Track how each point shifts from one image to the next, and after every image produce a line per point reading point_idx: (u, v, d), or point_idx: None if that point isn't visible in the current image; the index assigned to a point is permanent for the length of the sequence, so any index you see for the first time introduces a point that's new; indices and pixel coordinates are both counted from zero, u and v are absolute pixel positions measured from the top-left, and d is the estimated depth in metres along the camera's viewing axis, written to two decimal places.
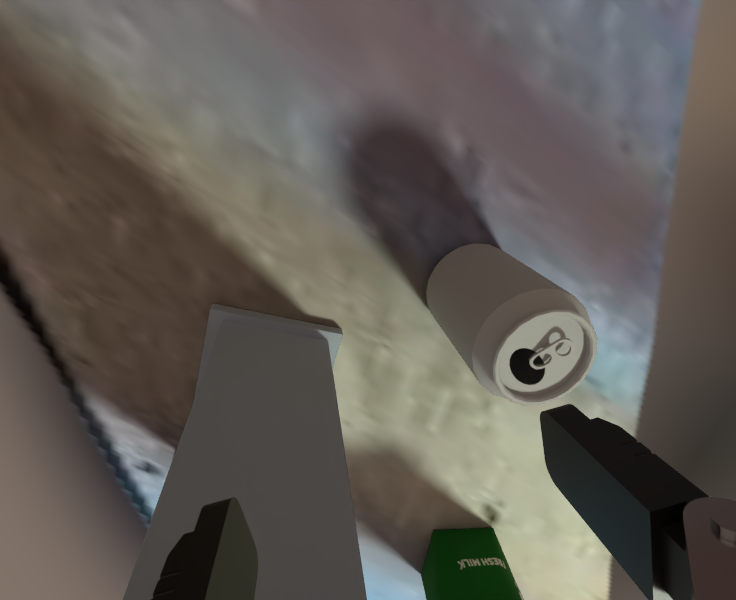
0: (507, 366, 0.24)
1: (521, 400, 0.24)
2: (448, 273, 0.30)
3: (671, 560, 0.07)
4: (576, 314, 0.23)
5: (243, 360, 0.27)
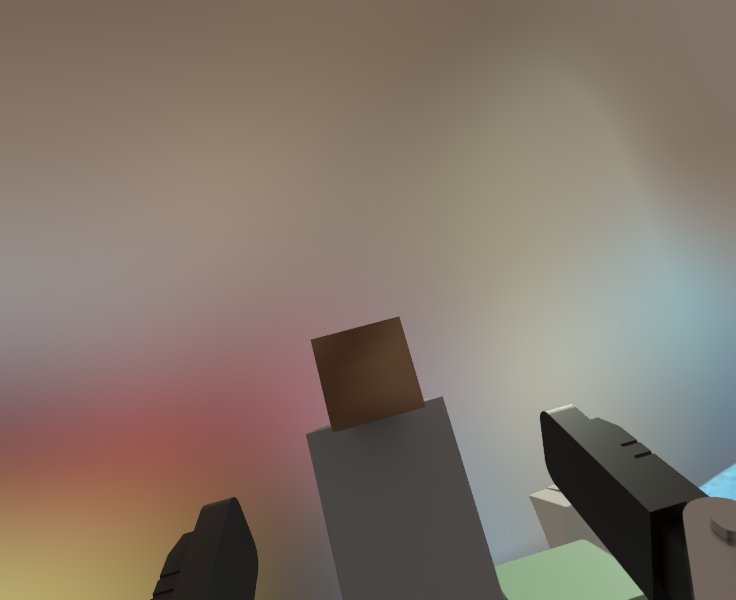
0: None
1: None
2: None
3: (671, 560, 0.07)
4: None
5: None
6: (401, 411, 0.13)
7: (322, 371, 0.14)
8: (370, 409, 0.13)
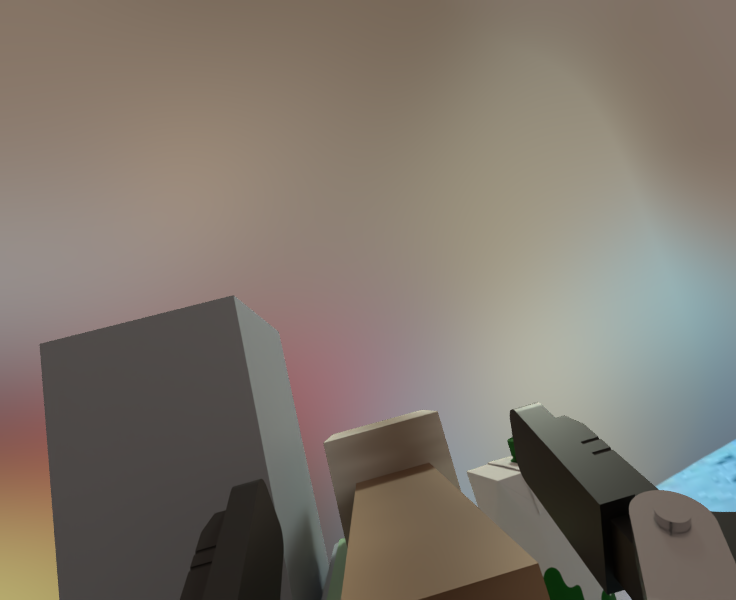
0: None
1: None
2: None
3: (620, 550, 0.08)
4: None
5: None
6: None
7: None
8: None
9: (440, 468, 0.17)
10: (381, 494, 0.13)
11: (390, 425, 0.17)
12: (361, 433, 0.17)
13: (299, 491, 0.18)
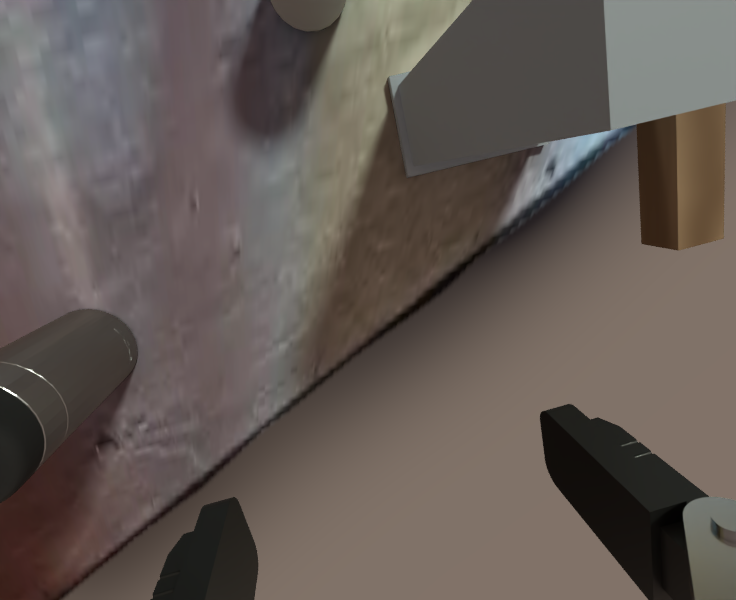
0: None
1: None
2: (303, 21, 0.38)
3: (671, 560, 0.07)
4: None
5: (421, 141, 0.40)
6: None
7: (666, 247, 0.27)
8: None
9: None
10: (691, 114, 0.24)
11: None
12: None
13: None
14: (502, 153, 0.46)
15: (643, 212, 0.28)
